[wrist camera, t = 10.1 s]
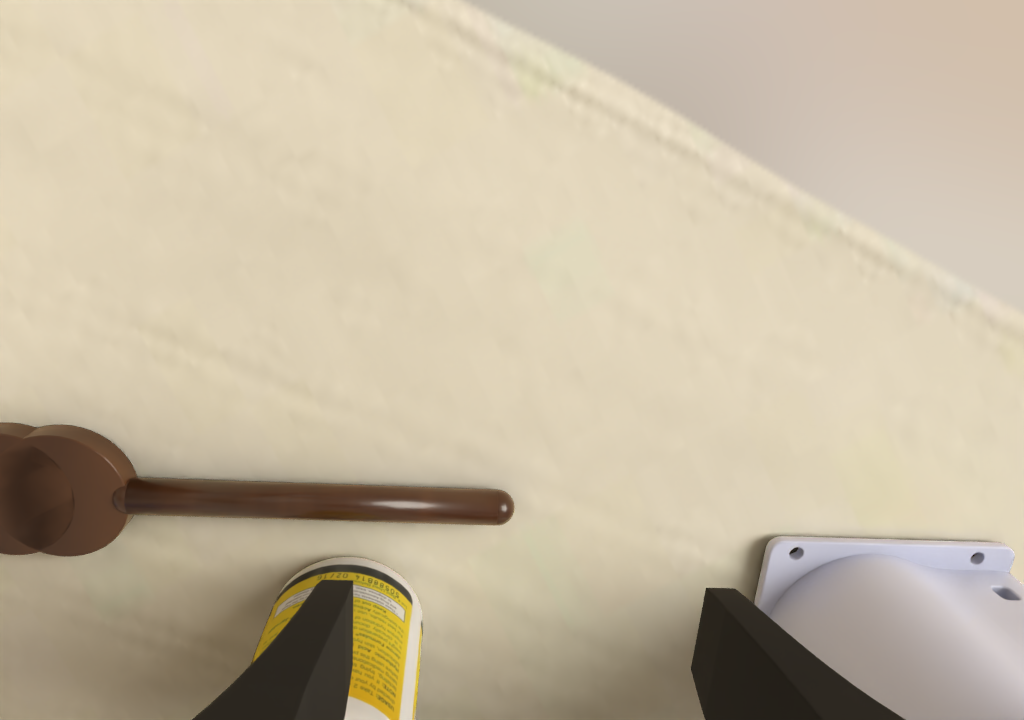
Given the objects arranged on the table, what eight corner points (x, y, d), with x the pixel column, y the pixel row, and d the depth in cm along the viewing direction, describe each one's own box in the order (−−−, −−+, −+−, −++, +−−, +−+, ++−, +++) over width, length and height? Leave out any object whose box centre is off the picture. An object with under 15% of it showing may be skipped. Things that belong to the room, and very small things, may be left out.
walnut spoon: (518, 442, 25) (520, 457, 24) (508, 553, 26) (510, 573, 25) (-62, 418, 23) (-89, 434, 22) (-39, 538, 24) (-63, 559, 23)
